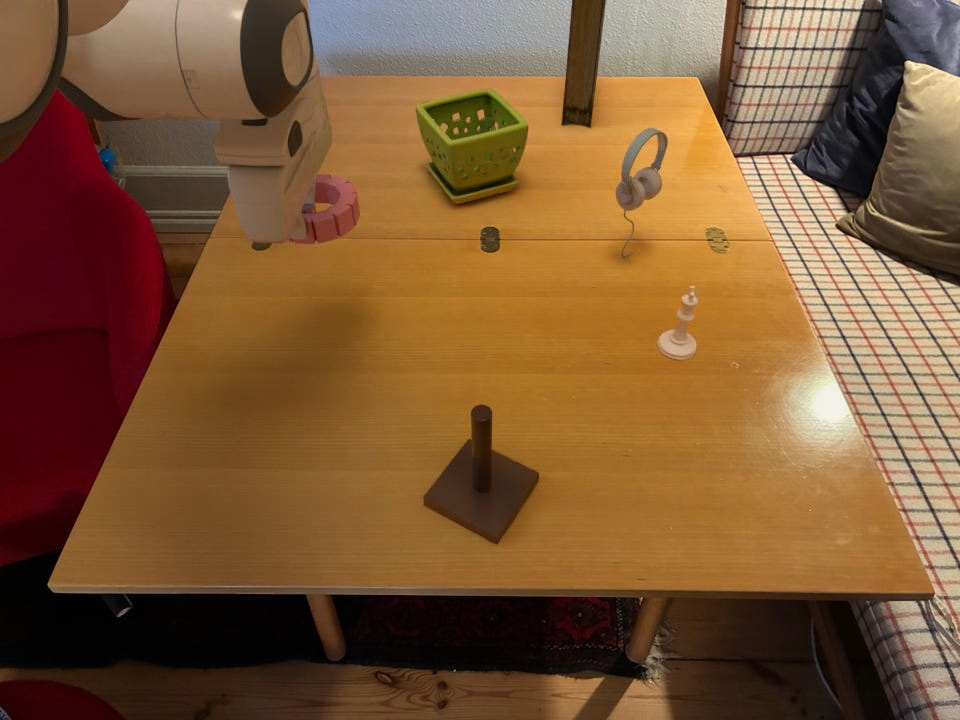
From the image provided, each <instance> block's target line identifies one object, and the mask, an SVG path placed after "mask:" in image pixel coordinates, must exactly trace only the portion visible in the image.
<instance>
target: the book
mask: <svg viewBox="0 0 960 720" xmlns="http://www.w3.org/2000/svg"><path fill="white" fill-rule="evenodd" d="M606 3H607V0H571V10H570V19H569V20H570V21H569V33H568V44H567V57H566V67H565V78H564V91H563V92H564V93H563V104H562V113H561V114H562V115H561V126H565V125H569V124H575V125H582V126H585V127H589V128H592V122H593V113H594V106H595V105H594V103H595V98H596V97H595V96H596V87H597V79H598V71H599V64H600V63H599V62H600V53H601V46H602V45H601V44H602V39H603V38H602V37H603V28H604V21H605V20H604V19H605V12H606Z"/></svg>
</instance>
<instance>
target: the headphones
mask: <svg viewBox="0 0 960 720" xmlns="http://www.w3.org/2000/svg"><path fill="white" fill-rule="evenodd" d="M654 136H656V138H657V151H656V155H655V158H654V161H653V162H652V163H651V164H650V166H646V167H643V168H641V169H640V170H637V171H636V173H635V174H634V176H633V177H632V175H630V174H631V171H632V168H633V166H634V163H635V161H636V159H637V157H638V155H639V153H640V151H641V150H642V148H643V147H644V146H645V144H646V143H647V142H648V141H649V140H650V139H651V138H652V137H654ZM668 142H669V141H668V136H667V134H666V133H664V132H663V131H661V130H659V129H657V128H655V127H648V128H646V129H643V130H642V131H640V132H639V133H638V134H637V135H636V137H635V138H634V139H633V140H632V141H631V143H630V144H629V146H628V148H627V150H626V152H625V154H624V156H623V160H622V164H621V181H620V182H618V184H617V186H616V188H615V199H616V202H617V204H618V206H619V207H620V208H621V209H623V210H624V211H623V217H624V219H625V220H626V221H628V222H629V223H631V225H632V230H631V233H630V236H629V238H628V239H627V240H626V242H625V244H624V246H623V248H622V250H621V257H622V258H623V259H624V258H625V259H626V258H627V257H629V256H630V255H631V253H633V250H632V249H631V250H630V251H629V252H628V253H627V254H626V255H624V251H625V248H626V247H627V245H628V243H629V242H630V241H631V238H632V237H633V234H634V231H635V224H634V222H633V221H632V220H631V219H630V218H628V217H627V215H626V212H632V211H635V210H636V209H638V208H640V207H641V206H642V205H643V204H644V201H647V200H648V201H650V200H652V199H654V198H655V197H656V196H657V195H659V194H660V192H661V190H662V188H663V180H662V179H663V178H662V176H661V174H660V172H659V171H660V170H661V169H662V163H663V160H664V158H665V156H666V151H667V149H668Z"/></svg>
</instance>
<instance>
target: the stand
mask: <svg viewBox="0 0 960 720" xmlns="http://www.w3.org/2000/svg"><path fill="white" fill-rule="evenodd" d="M470 424H471V425H470V427H471V428H470V429H471V430H470V433H471V438H467V440H466V441H465V442H464V444H463V445H462V446H461V447H460V449H459V450H458V451H457V452H456V454H455V455H454V457H453V458H452V459H451V461H450V462H449V463H448V464H447V466H446V467H445V469H444V470H443V471H442V472H441V474H440V475H439V476H438V478H437V479H436V480H435V481H434V483H433V484H432V485H431V486H430V487H429V489H428V490H427V492H426V493H425V494H424V496H423V497H422V499H423V505H424V506H426V507H427V508H429V509H432V510H433V511H435V512H437V513H439V514H440V515H442V516H444V517H446V518H448V519H450V520H452V521H453V522H455V523H457V524H458V525H461V526H463V527H464V528H466V529H468V530H469V531H471V532H473V533H475V534H476V535H479V536H481V537H482V538H484V539H486V540H488V541H489V542H491V543H494V544H495V545H498V543H499V542H500V541H501V540H502V538H503V536H504V534H505V533H506V531H507V530H508V528H509V527H510V525H511V524H512V523H513V521H514V519H515V517H516V516H517V515H518V513H519V512H520V510H521V508H522V507H523V506H524V504H525V502H526V501H527V499H529V496H530V495H531V493H532V492H533V490H534V488H535V487H536V486H537V485H538V483H539V481H540V472H539V471H536V470H535V469H532V468H530V467H528V466H526V465H524V464H522V463H520V462H518V461H516V460H514V459H511V458H510V457H508V456H506V455H503V454H501V453H499V452H498V451H495V450H493V409H492V408H491V407H490V406H488V405H486V404H477V405H475V406H473V407H472V408H471V410H470Z"/></svg>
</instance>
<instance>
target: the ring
mask: <svg viewBox="0 0 960 720" xmlns="http://www.w3.org/2000/svg"><path fill="white" fill-rule="evenodd" d="M315 182H316V184H315V204H329V205H331V206H330V207H329V208H327V209H324V210H320V211H317V212H316V213H312V214H310V213H301V215H302V217H303V218H307V221H308V226H309V231H308V234H307V236H306V238H305V239H304V240H297V239H292V238H290V236H289V238H288V240H287V241H286V242H288V243H293V242H294V244H295V245H296V244H297V245H316V242H317V244H318V245H320V244H324V243H327V242H331V241H334V240H335V241H336V240H338V239H339V238H338V237H340V238H342V237H343V236H345V235H346V234H348V233H349V232H351V231H352V230H354V229H355V226H357V224H358V222H359V219H360V217H361V211H360V204H359V197H358V191H357V189H355V187H354V185H353V183H352V182H351V181H350V182H349V180H347V179H345V178H342V177H340V176H337V175H333V176H332V175H331V174H324V173H323V174H321V173H320V174H319V173H318V175H317V177H316V179H315Z"/></svg>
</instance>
